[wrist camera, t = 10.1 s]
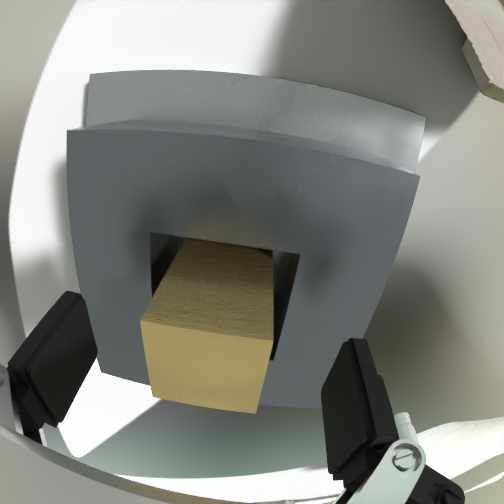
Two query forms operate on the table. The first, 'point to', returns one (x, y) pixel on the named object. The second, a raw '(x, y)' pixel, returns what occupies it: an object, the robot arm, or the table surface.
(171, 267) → the brass pin
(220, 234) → the collar block
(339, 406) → the robot arm
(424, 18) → the table surface
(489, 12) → the beige piece
